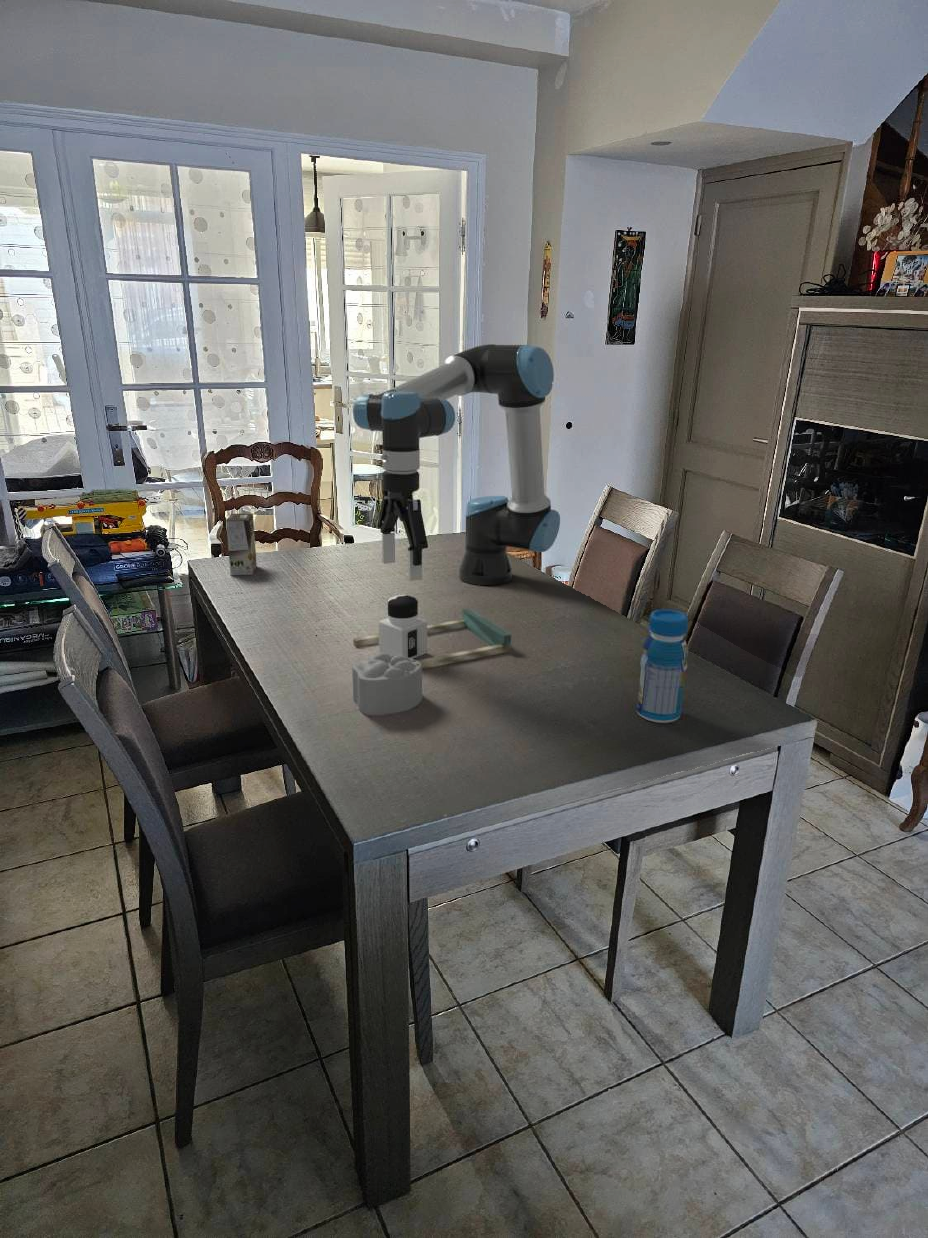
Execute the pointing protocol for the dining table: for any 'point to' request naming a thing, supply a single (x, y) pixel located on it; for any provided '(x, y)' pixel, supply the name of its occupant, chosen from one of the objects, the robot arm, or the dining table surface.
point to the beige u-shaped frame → (469, 620)
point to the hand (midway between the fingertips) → (401, 571)
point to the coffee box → (241, 544)
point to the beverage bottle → (663, 667)
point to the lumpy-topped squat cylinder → (387, 684)
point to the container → (403, 629)
